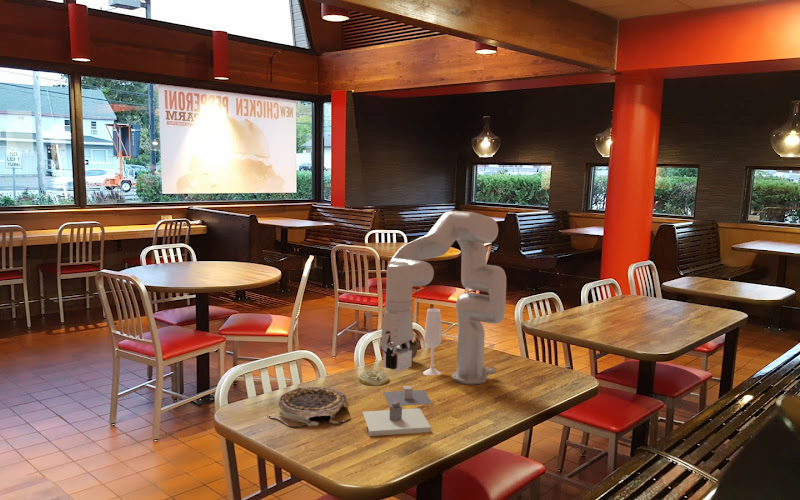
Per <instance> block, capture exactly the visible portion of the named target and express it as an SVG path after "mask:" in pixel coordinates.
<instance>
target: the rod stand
mask: <svg viewBox="0 0 800 500" xmlns="http://www.w3.org/2000/svg"><path fill="white" fill-rule="evenodd" d="M382 393H383V395H384V397H385V400H386V402H387V404H388V406H389V407H390V406H392V403H393V402H399V403H400V406H402V407H404V406H415V405H416V406H418V405H432V404H433V402H432V399H430V397H429V396H428V393H426V391H425V389H417V390H416V389H415V390H413V387H412V385H403V386H402V390H398V391H382Z"/></svg>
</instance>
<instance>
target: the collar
mask: <svg viewBox="0 0 800 500" xmlns="http://www.w3.org/2000/svg"><path fill="white" fill-rule="evenodd" d="M390 349H391V351H392V347H390ZM382 351H383V350H382ZM394 356H396V368H395V369H390V368H388V369H389V370H394V371H397V372H402V371H404V370H406V369H408V368H411V367H412V362H413V361H412V350H410V349H406V348H401V347H400V346H397V347H396V351H395V355H394ZM382 360H383V361H382V368H385V369H387V368H386V355H385V352H384V351H383V359H382Z"/></svg>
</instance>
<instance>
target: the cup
mask: <svg viewBox="0 0 800 500" xmlns="http://www.w3.org/2000/svg"><path fill="white" fill-rule="evenodd" d="M398 347H400V345H398ZM418 347H419V342H418V341H417V340H413V341H412V342H411V344H410V350H412V362H413V361H414V358H416V356H417V353H418Z"/></svg>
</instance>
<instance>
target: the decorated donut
mask: <svg viewBox="0 0 800 500" xmlns="http://www.w3.org/2000/svg"><path fill="white" fill-rule="evenodd" d="M357 377H358V378H357V381H358V382H359V383H361V384H363V385H367V386H376V387H377V386H381V385H385V384H387V383H389V380H390V377H389V376H388V375H387V374H386V373H385V372H381V371H376V370H369V371H364V372H362V373H359V375H358V376H357Z"/></svg>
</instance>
